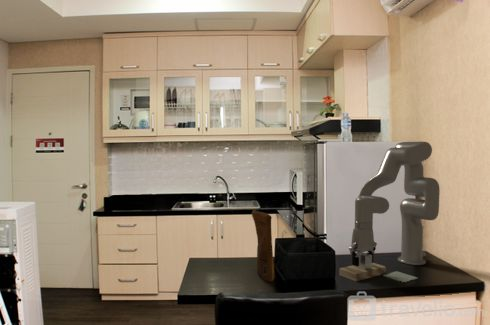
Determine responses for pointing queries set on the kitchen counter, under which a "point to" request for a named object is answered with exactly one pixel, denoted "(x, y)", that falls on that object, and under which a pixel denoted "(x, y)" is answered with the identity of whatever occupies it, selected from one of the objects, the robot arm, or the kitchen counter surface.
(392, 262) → the kitchen counter surface
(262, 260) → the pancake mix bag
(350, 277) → the tan flat block
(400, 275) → the sage mat
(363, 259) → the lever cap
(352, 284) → the kitchen counter surface
